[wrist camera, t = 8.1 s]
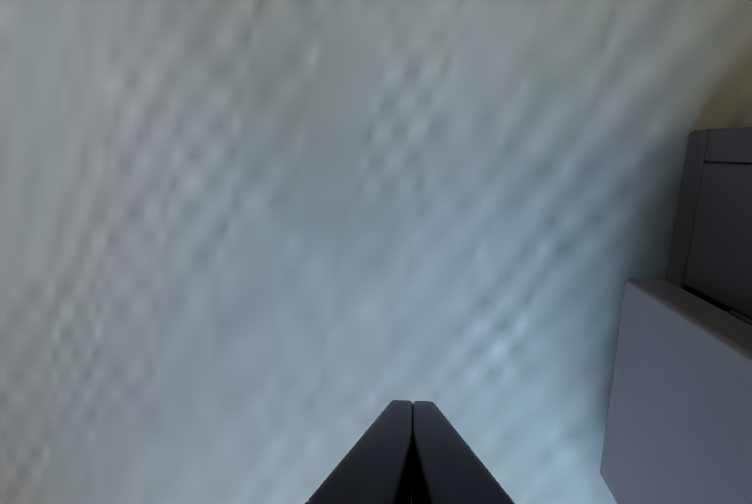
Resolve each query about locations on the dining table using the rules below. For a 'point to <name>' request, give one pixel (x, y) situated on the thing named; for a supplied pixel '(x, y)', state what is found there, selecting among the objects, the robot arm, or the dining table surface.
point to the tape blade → (679, 401)
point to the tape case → (716, 221)
